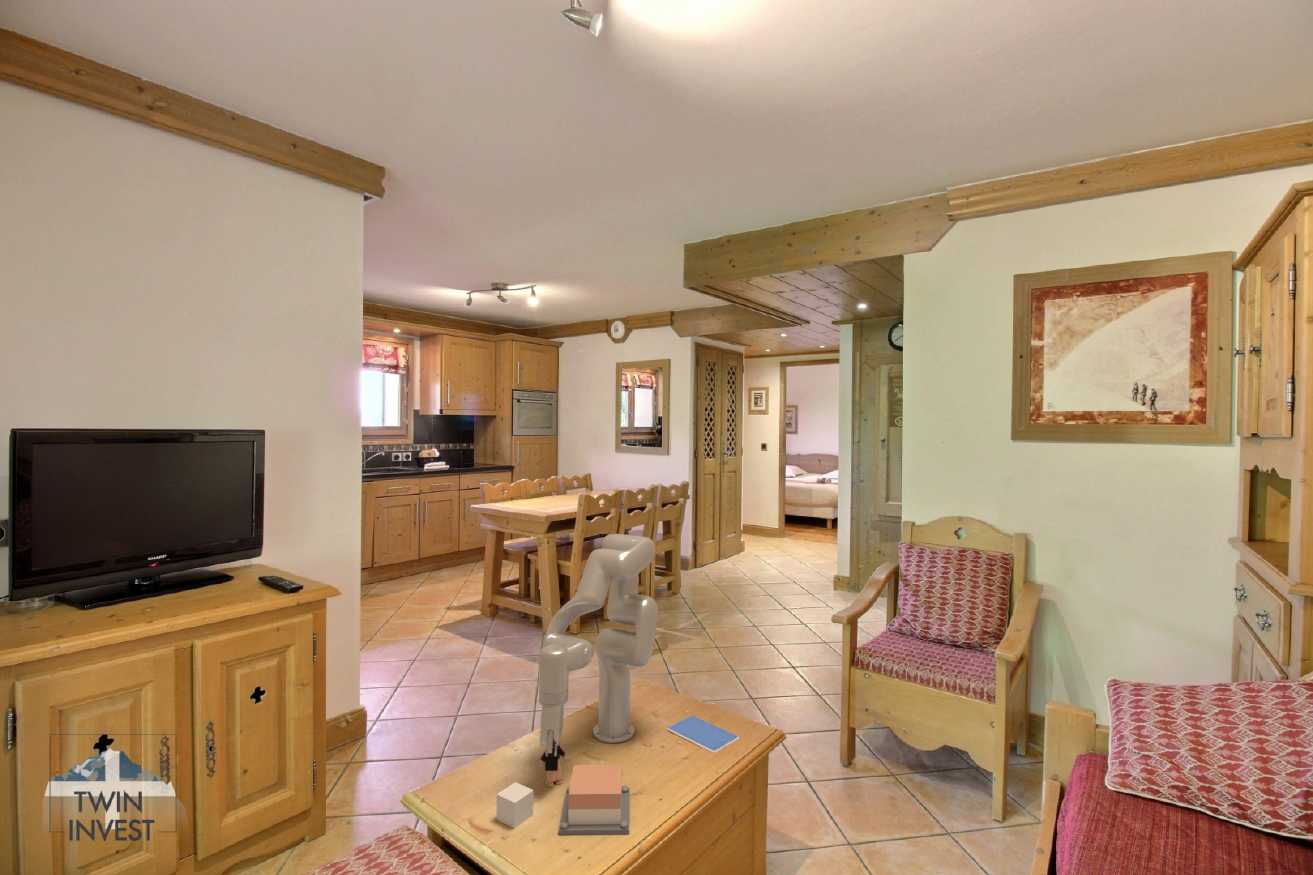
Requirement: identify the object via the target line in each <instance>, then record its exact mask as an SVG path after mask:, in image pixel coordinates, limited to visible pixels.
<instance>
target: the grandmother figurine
mask: <svg viewBox="0 0 1313 875" xmlns="http://www.w3.org/2000/svg"><path fill="white" fill-rule="evenodd" d="M553 735H554V734H553ZM553 742H555V741H553ZM553 748H554V750H555V746H553ZM545 754H546V750H545V752H543V753H542V755H541V757H540V759H539V763H538V764H537V765H538V767H539V768H542V767H543V765H544V764H545ZM557 754H558V770H557V771H546V781H545V786H546V787H548V788H553V787H554V786H555V784H556V785H562V783H563V778H562V767H561V766H562V765H561V758H562V759H563V762H567V761H568V757H567V753H566V752H565V751H564V749H563V748H561V746H560V747H557ZM559 755H560V758H559Z"/></svg>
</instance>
